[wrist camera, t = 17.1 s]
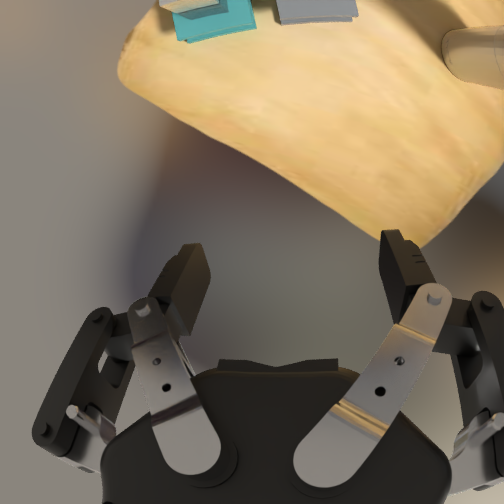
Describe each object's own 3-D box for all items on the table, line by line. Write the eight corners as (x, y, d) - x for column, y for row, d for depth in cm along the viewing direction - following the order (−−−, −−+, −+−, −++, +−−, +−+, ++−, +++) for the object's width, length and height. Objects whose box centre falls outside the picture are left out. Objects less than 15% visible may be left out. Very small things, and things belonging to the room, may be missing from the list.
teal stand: (244, -26, 25) (238, -37, 21) (256, 28, 31) (252, 22, 27) (179, -9, 27) (166, -17, 23) (189, 43, 33) (177, 40, 29)
